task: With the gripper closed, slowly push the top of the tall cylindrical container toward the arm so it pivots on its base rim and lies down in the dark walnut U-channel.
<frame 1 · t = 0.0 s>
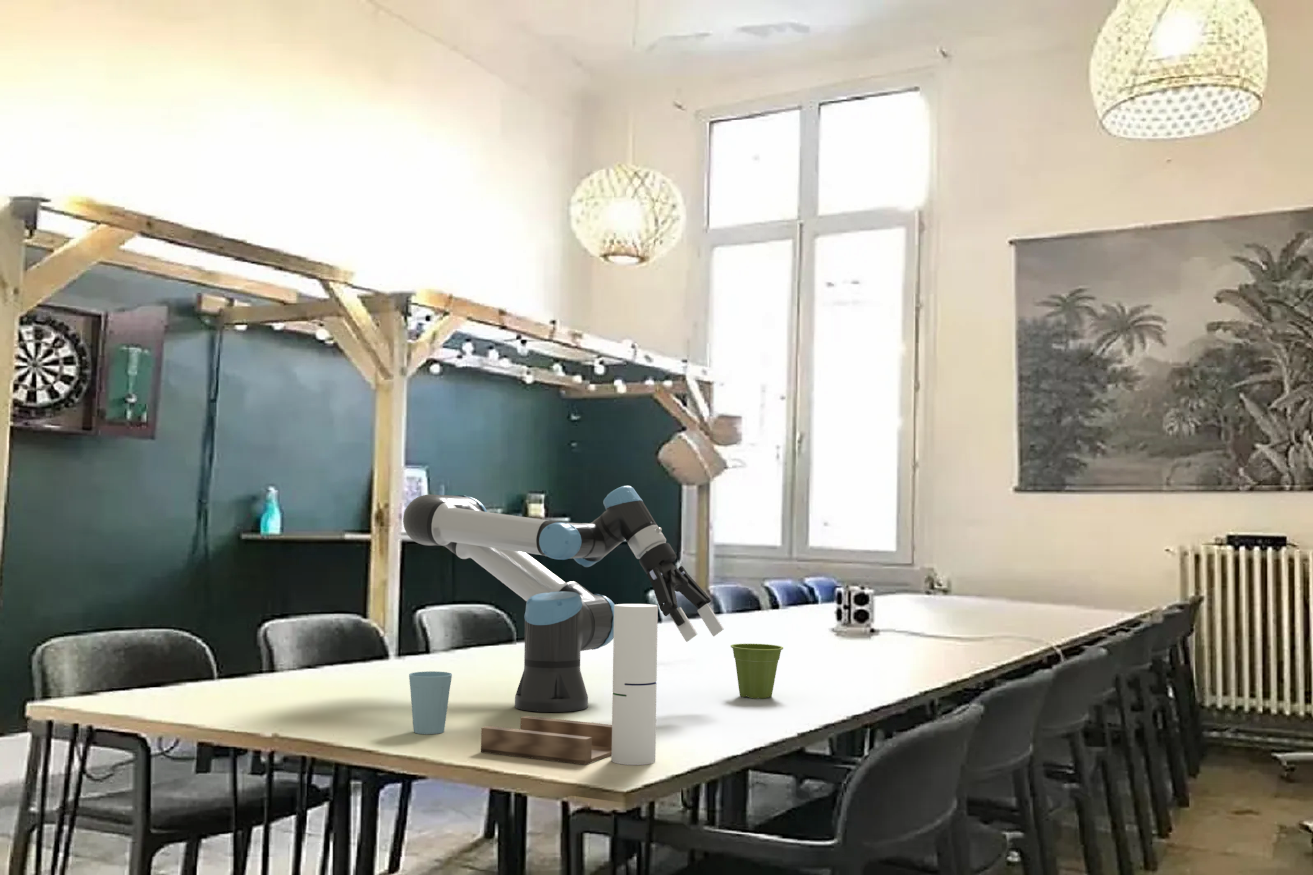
hand: (705, 635, 246), 15 cm above the table, tool tilted 35°, fingers open, 13 cm apart
walnut U-channel: (554, 751, 199), on the table
plant pot: (756, 697, 265), on the table
cup: (428, 732, 215), on the table
cylindrical container: (633, 761, 192), on the table
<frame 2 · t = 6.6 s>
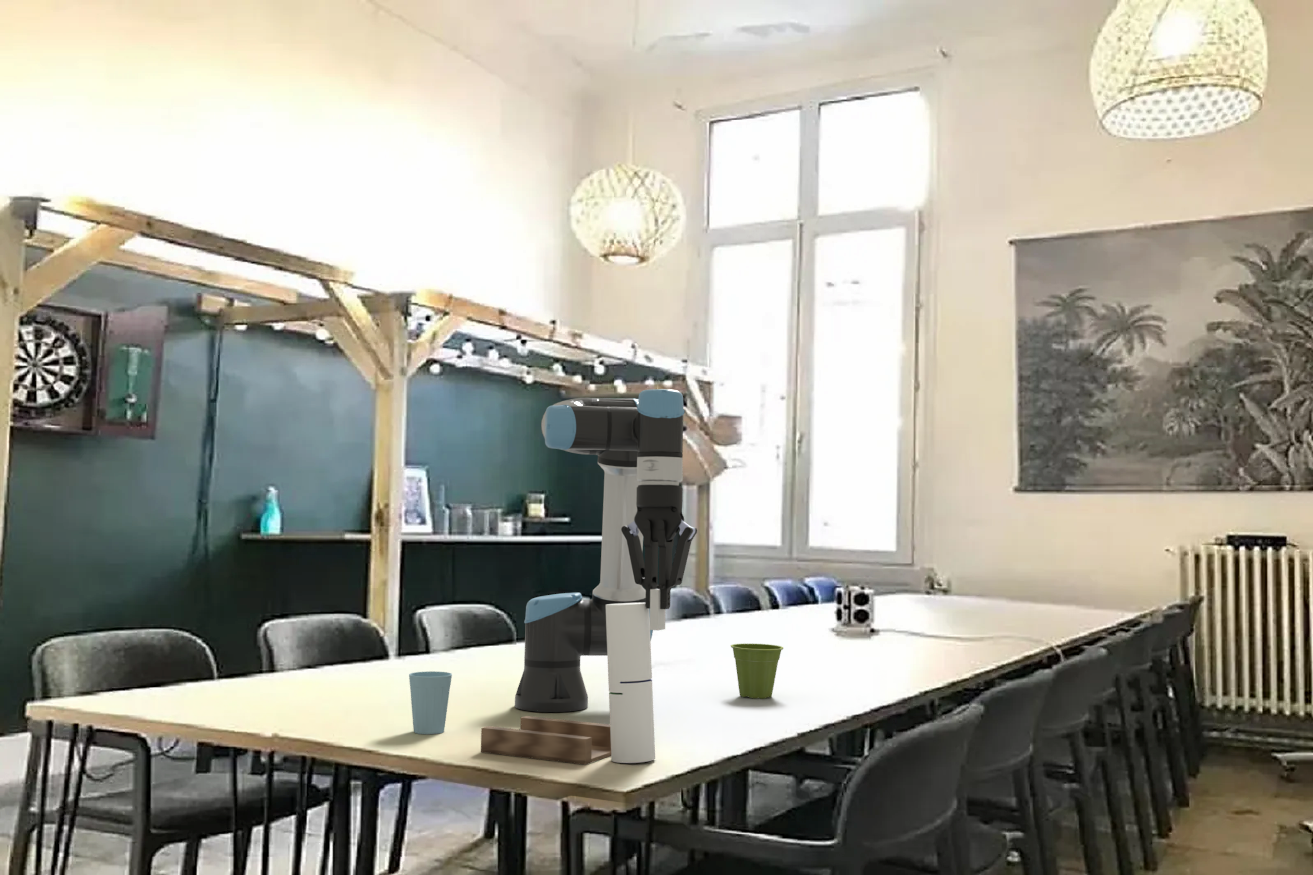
hand: (657, 629, 192), 21 cm above the table, tool pointing down, fingers closed
cylindrical container: (633, 760, 192), on the table, touching gripper
everything else where it was.
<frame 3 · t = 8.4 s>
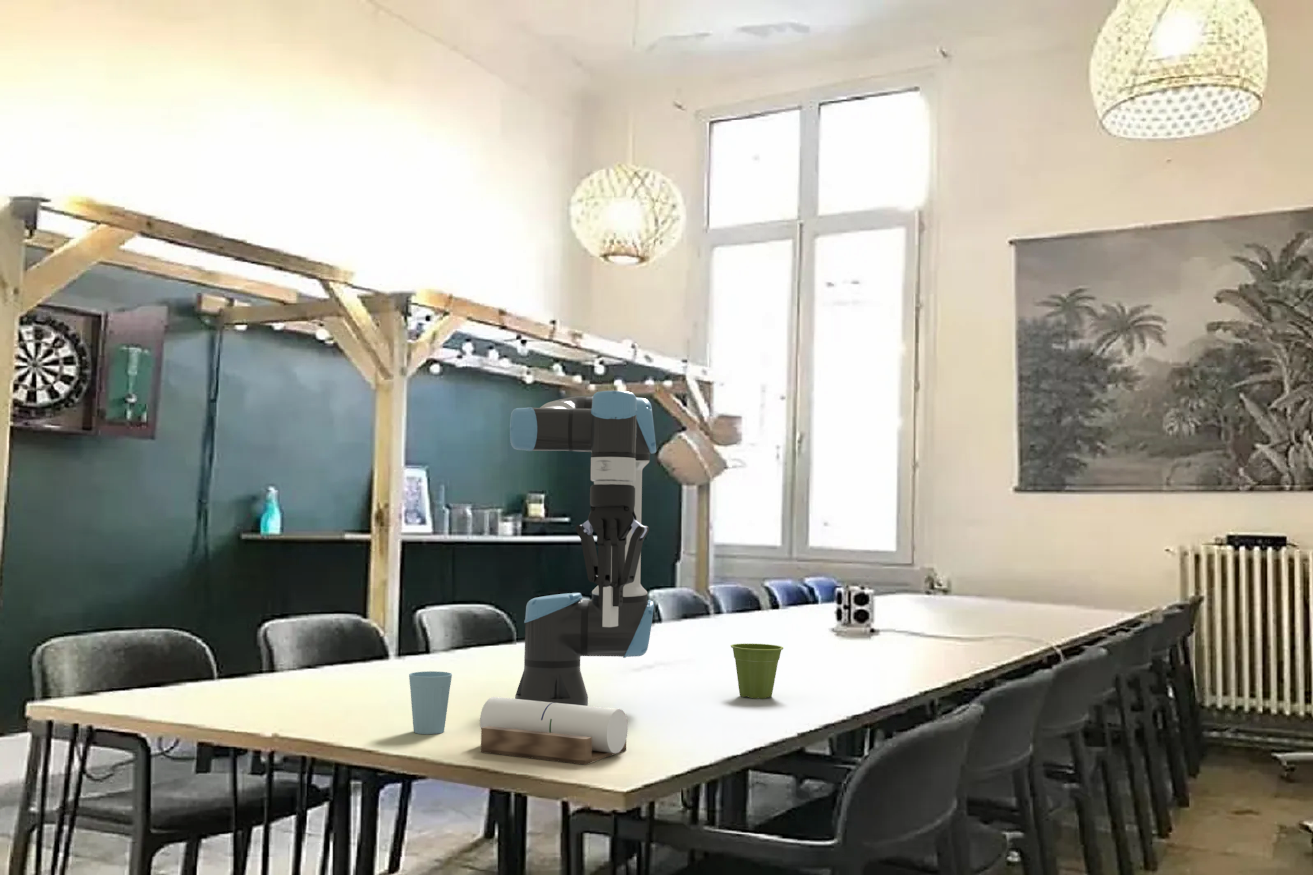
hand: (610, 626, 196), 21 cm above the table, tool pointing down, fingers closed
cylindrical container: (618, 731, 195), point 4 cm above the table, touching walnut U-channel
everything else where it was.
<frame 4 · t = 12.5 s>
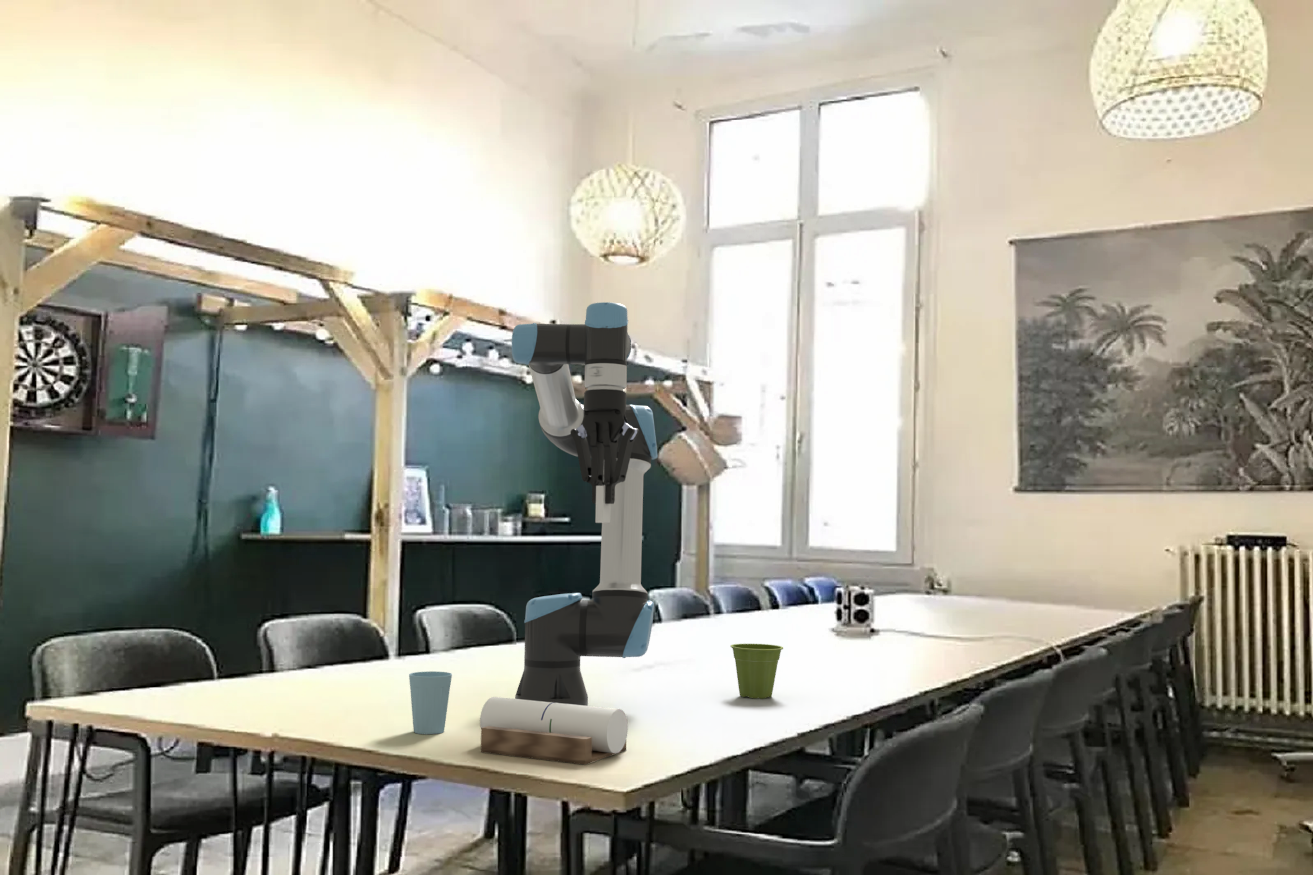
hand: (602, 522, 209), 38 cm above the table, tool pointing down, fingers closed
nothing on the table moved.
at the end: cylindrical container tilted 90°; cylindrical container inside the target area on the walnut U-channel (1.9 cm from its centre), point 4.2 cm above the walnut U-channel's base; cylindrical container touching walnut U-channel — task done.
